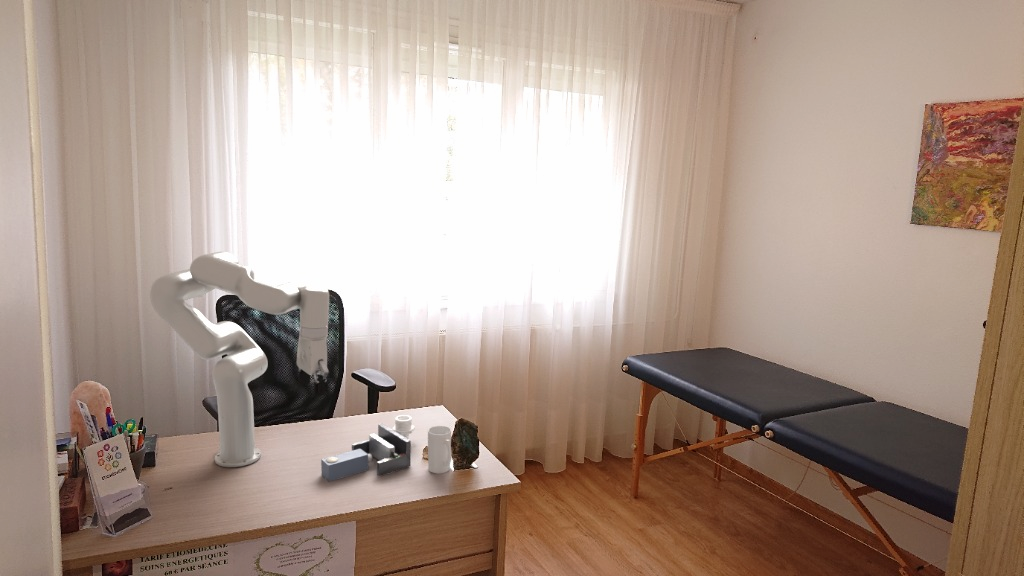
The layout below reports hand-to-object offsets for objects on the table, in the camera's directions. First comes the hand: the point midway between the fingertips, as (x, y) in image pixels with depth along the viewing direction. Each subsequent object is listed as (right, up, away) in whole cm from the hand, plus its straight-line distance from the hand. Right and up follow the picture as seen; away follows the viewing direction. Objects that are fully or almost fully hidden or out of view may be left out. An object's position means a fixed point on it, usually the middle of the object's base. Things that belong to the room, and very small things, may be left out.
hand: (311, 389), depth 185 cm
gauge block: (+9, -24, +3) cm, 26 cm away
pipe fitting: (+22, -21, +24) cm, 39 cm away
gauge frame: (+18, -23, +10) cm, 31 cm away
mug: (+36, -25, +5) cm, 44 cm away
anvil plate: (+19, -23, +9) cm, 31 cm away
